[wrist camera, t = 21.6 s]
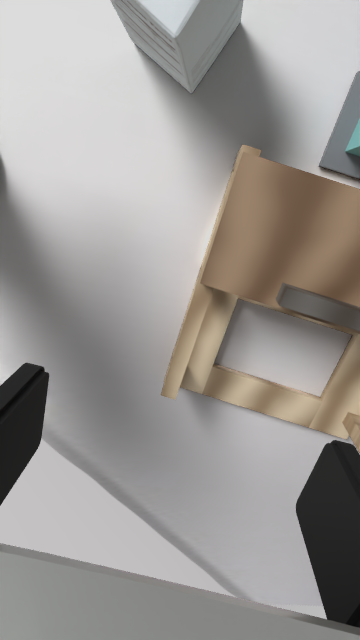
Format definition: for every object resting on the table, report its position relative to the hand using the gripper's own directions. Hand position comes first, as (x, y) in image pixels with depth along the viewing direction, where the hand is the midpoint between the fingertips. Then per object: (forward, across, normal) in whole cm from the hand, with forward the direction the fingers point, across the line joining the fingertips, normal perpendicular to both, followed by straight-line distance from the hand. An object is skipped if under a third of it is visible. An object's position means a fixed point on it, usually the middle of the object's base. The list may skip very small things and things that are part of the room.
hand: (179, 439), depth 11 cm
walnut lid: (+21, -12, -5) cm, 25 cm away
